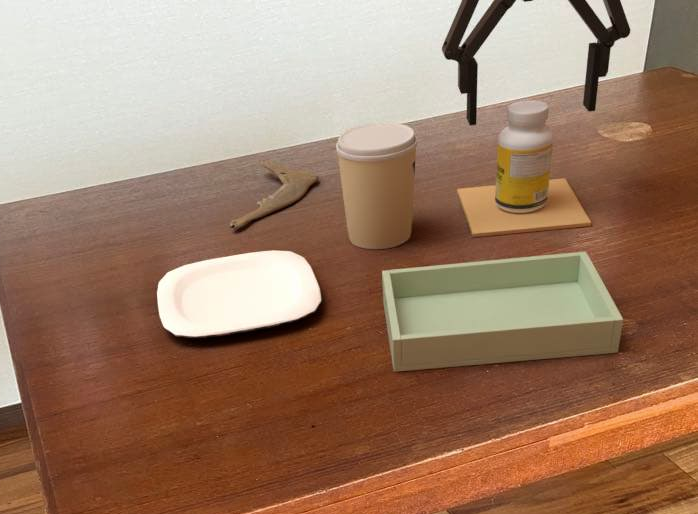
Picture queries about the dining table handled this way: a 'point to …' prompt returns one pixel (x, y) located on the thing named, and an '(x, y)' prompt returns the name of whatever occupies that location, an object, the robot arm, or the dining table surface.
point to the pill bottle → (524, 158)
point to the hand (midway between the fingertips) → (529, 115)
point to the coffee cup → (378, 183)
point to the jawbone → (280, 192)
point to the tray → (498, 312)
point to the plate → (237, 294)
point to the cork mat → (495, 221)
